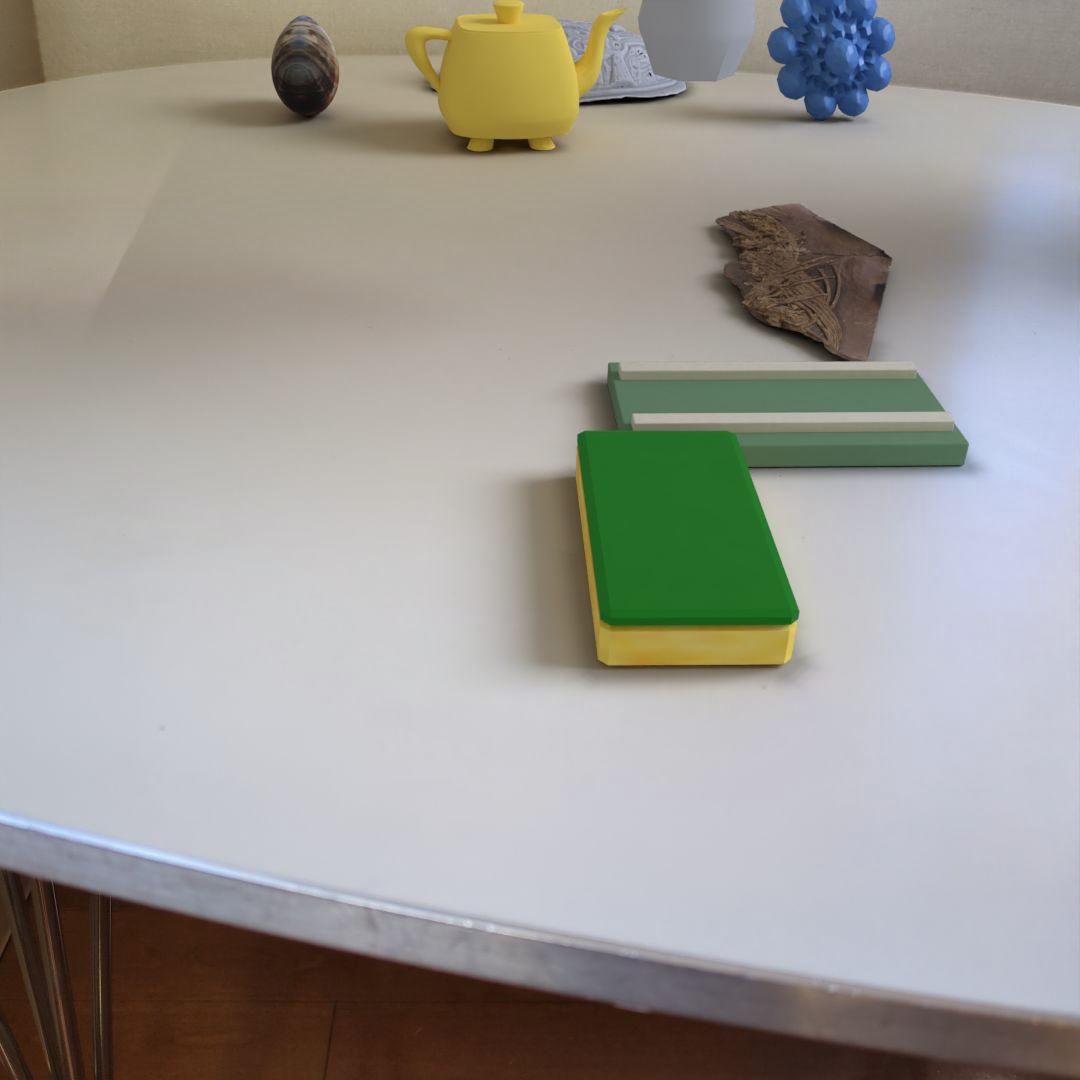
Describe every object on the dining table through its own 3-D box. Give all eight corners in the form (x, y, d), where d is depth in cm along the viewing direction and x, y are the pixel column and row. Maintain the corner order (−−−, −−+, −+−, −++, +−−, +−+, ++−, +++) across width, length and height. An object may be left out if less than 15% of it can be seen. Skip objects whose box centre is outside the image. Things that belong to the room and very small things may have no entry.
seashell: (284, 101, 110) (275, 7, 106) (347, 102, 111) (341, 8, 106) (268, 129, 102) (258, 28, 98) (335, 130, 103) (328, 29, 98)
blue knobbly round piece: (771, 133, 105) (789, -17, 98) (751, 112, 111) (768, -31, 104) (900, 132, 106) (927, -16, 99) (874, 112, 112) (898, -30, 105)
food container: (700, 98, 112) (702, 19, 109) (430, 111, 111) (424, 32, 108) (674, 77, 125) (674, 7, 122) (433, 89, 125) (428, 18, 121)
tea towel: (905, 381, 64) (912, 351, 63) (964, 466, 57) (972, 433, 56) (606, 382, 63) (608, 351, 62) (626, 468, 56) (628, 435, 55)
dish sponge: (598, 668, 44) (601, 615, 42) (574, 474, 55) (576, 428, 54) (792, 667, 44) (802, 614, 43) (729, 475, 55) (734, 428, 54)
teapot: (608, 119, 107) (615, -11, 101) (633, 155, 98) (642, 13, 92) (405, 122, 105) (400, -11, 99) (411, 159, 96) (406, 14, 90)
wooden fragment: (712, 208, 87) (714, 193, 86) (866, 215, 86) (869, 201, 86) (733, 361, 66) (735, 343, 65) (938, 373, 65) (942, 355, 64)
